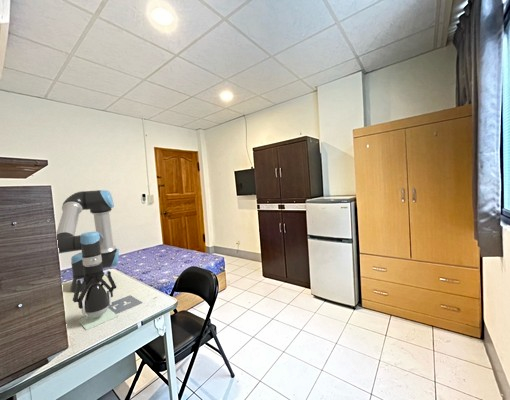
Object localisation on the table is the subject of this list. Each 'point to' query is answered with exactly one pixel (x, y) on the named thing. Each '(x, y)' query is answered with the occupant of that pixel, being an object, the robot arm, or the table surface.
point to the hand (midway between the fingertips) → (97, 308)
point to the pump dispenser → (96, 300)
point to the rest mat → (97, 319)
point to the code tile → (124, 304)
